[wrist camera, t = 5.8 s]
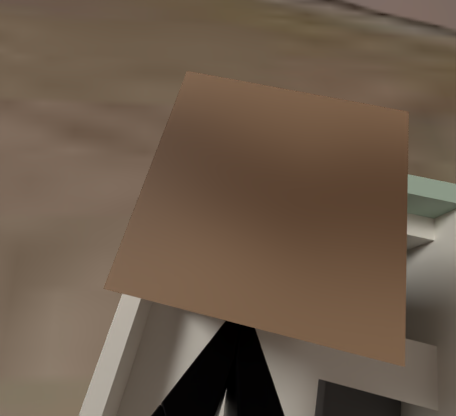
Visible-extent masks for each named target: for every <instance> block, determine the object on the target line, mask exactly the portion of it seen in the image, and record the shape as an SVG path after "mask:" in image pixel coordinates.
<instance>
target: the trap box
mask: <svg viewBox="0 0 456 416" xmlns="http://www.w3.org/2000/svg"><path fill="white" fill-rule="evenodd" d="M225 321H226V320H222V319H218V318H214V317H210V316H206V315H203V314H199V313H195V312H191V311H187V310H183V309H180V308H176V307H172V306H168V305H164V304H160V303H156V302H153V301H149V300H145V299H141V298H137V297H133V296H130V295H126V294H122V296H121V299H120V302H119V305H118V307H117V310H116V313H115V316H114V319H113V321H112V324H111V327H110V330H109V333H108V335H107V338H106V341H105V344H104V347H103V349H102V352H101V355H100V358H99V360H98V363H97V366H96V369H95V372H94V374H93V377H92V380H91V383H90V386H89V388H88V391H87V394H86V397H85V400H84V402H83V405H82V408H81V411H80V413H79V416H151V415H152V414H153V412H154V411H155V410H156V408H157V407H158V406H159V405H161V402H162V401H163V400H164V399H165V397H166V396H167V395H168V393H169V392H170V391H171V390H172V388H173V387H174V386H175V384H176V383H177V382H178V381H179V379H180V378H181V377H182V376H183V374H184V373H185V372H186V370H187V369H188V368H189V367H190V365H191V364H192V363H193V362H194V360H195V359H196V358H197V356H198V355H199V354H200V353H201V351H202V350H203V349H204V347H205V346H206V345H207V344H208V342H209V341H210V340H211V339H212V337H213V336H214V335H215V333H216V332H217V331H218V330H219V328H220V327H221V326H222V325H223V323H224V322H225ZM255 329H256V328H255ZM256 332H257V335H258V338H259V341H260V344H261V347H262V350H263V353H264V356H265V359H266V362H267V365H268V368H269V371H270V374H271V377H272V380H273V383H274V385H275V388H276V391H277V394H278V397H279V400H280V403H281V406H282V409H283V412H284V415H285V416H456V184H453V183H448V182H443V181H438V180H433V179H428V178H423V177H418V176H413V175H408V195H407V264H406V334H405V367H403V366H399V365H395V364H391V363H387V362H383V361H380V360H376V359H372V358H368V357H364V356H360V355H356V354H353V353H349V352H345V351H341V350H337V349H333V348H330V347H326V346H322V345H318V344H314V343H310V342H306V341H303V340H299V339H295V338H291V337H287V336H283V335H280V334H276V333H272V332H268V331H264V330H260V329H256ZM225 395H226V393H225ZM224 404H225V397H224V400H223V404H222V407H221V410H220V414H219V416H223V415H224Z"/></svg>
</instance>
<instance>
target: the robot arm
mask: <svg viewBox="0 0 456 416" xmlns="http://www.w3.org/2000/svg"><path fill="white" fill-rule="evenodd" d="M225 393H226V395H225ZM224 397H225V404H224V415H223V416H285V415H284V412H283V409H282V406H281V403H280V400H279V397H278V394H277V391H276V388H275V385H274V383H273V380H272V377H271V374H270V371H269V368H268V365H267V362H266V359H265V356H264V353H263V350H262V347H261V344H260V341H259V338H258V335H257V332H256V329H255V328H253V327H249V326H245V325H241V324H237V323H233V322H230V321H225V322H224V323H223V325H222V326H221V327H220V328H219V330H218V331H217V332H216V333H215V335H214V336H213V337H212V339H211V340H210V341H209V342H208V344H207V345H206V346H205V347H204V349H203V350H202V351H201V353H200V354H199V355H198V356H197V358H196V359H195V360H194V362H193V363H192V364H191V365H190V367H189V368H188V369H187V370H186V372H185V373H184V374H183V376H182V377H181V378H180V379H179V381H178V382H177V383H176V384H175V386H174V387H173V388H172V390H171V391H170V392H169V393H168V395H167V396H166V397H165V399H164V400H163V401H162V402H161V405H159V406H158V407H157V408H156V410H155V411H154V412H153V414H152V415H151V416H219V414H220V410H221V407H222V404H223V400H224Z"/></svg>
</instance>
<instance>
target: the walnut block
mask: <svg viewBox="0 0 456 416" xmlns="http://www.w3.org/2000/svg"><path fill="white" fill-rule="evenodd" d="M408 126H409V112H407V111H402V110H396V109H391V108H386V107H380V106H375V105H369V104H364V103H358V102H353V101H348V100H342V99H337V98H331V97H326V96H320V95H315V94H309V93H304V92H299V91H293V90H288V89H282V88H277V87H271V86H266V85H261V84H255V83H250V82H244V81H239V80H233V79H228V78H222V77H217V76H212V75H206V74H201V73H195V72H190V71H187V72H186V75H185V78H184V80H183V83H182V85H181V88H180V91H179V93H178V96H177V98H176V101H175V104H174V106H173V109H172V111H171V114H170V117H169V119H168V122H167V124H166V127H165V130H164V132H163V135H162V137H161V140H160V143H159V145H158V148H157V150H156V153H155V156H154V158H153V161H152V163H151V166H150V169H149V171H148V174H147V176H146V179H145V182H144V184H143V187H142V189H141V192H140V195H139V197H138V200H137V202H136V205H135V208H134V210H133V213H132V215H131V218H130V221H129V223H128V226H127V228H126V231H125V234H124V236H123V239H122V241H121V244H120V247H119V249H118V252H117V254H116V257H115V260H114V262H113V265H112V267H111V270H110V273H109V275H108V278H107V280H106V283H105V286H104V288H103V289H106V290H110V291H114V292H118V293H122V294H126V295H130V296H133V297H137V298H141V299H145V300H149V301H153V302H156V303H160V304H164V305H168V306H172V307H176V308H180V309H183V310H187V311H191V312H195V313H199V314H203V315H206V316H210V317H214V318H218V319H222V320H226V321H230V322H233V323H237V324H241V325H245V326H249V327H253V328H256V329H260V330H264V331H268V332H272V333H276V334H280V335H283V336H287V337H291V338H295V339H299V340H303V341H306V342H310V343H314V344H318V345H322V346H326V347H330V348H333V349H337V350H341V351H345V352H349V353H353V354H356V355H360V356H364V357H368V358H372V359H376V360H380V361H383V362H387V363H391V364H395V365H399V366H403V367H405V334H406V264H407V195H408Z"/></svg>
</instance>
